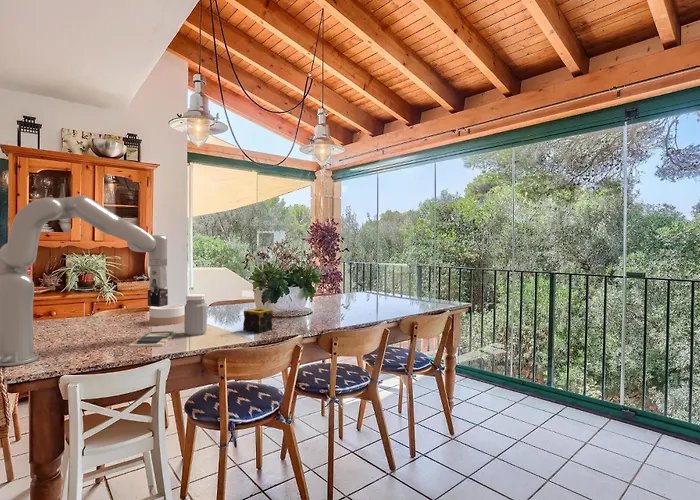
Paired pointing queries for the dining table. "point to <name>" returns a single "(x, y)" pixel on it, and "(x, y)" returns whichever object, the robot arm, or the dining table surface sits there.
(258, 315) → the candle
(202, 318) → the jar
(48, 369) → the dining table surface
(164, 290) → the box
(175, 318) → the bowl
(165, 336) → the stamp board
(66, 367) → the dining table surface
